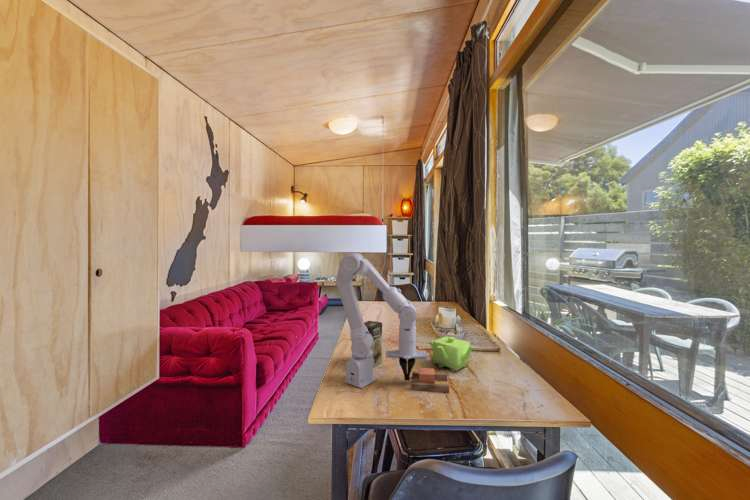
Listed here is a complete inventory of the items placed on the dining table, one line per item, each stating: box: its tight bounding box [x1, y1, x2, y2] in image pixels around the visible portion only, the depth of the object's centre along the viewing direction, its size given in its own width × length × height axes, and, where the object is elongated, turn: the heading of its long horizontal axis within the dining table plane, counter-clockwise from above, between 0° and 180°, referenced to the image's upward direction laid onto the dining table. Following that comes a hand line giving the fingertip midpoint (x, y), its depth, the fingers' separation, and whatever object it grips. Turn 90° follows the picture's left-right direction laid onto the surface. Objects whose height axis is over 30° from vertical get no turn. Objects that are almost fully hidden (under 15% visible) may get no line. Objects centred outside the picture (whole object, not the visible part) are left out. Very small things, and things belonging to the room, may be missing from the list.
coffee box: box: [364, 320, 383, 369], centre depth 128 cm, size 9×6×16 cm
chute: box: [410, 370, 450, 394], centre depth 112 cm, size 12×10×2 cm
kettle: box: [428, 335, 477, 373], centre depth 127 cm, size 15×14×11 cm
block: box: [418, 367, 436, 384], centre depth 112 cm, size 5×5×4 cm
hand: (407, 379), depth 113 cm, fingers closed
